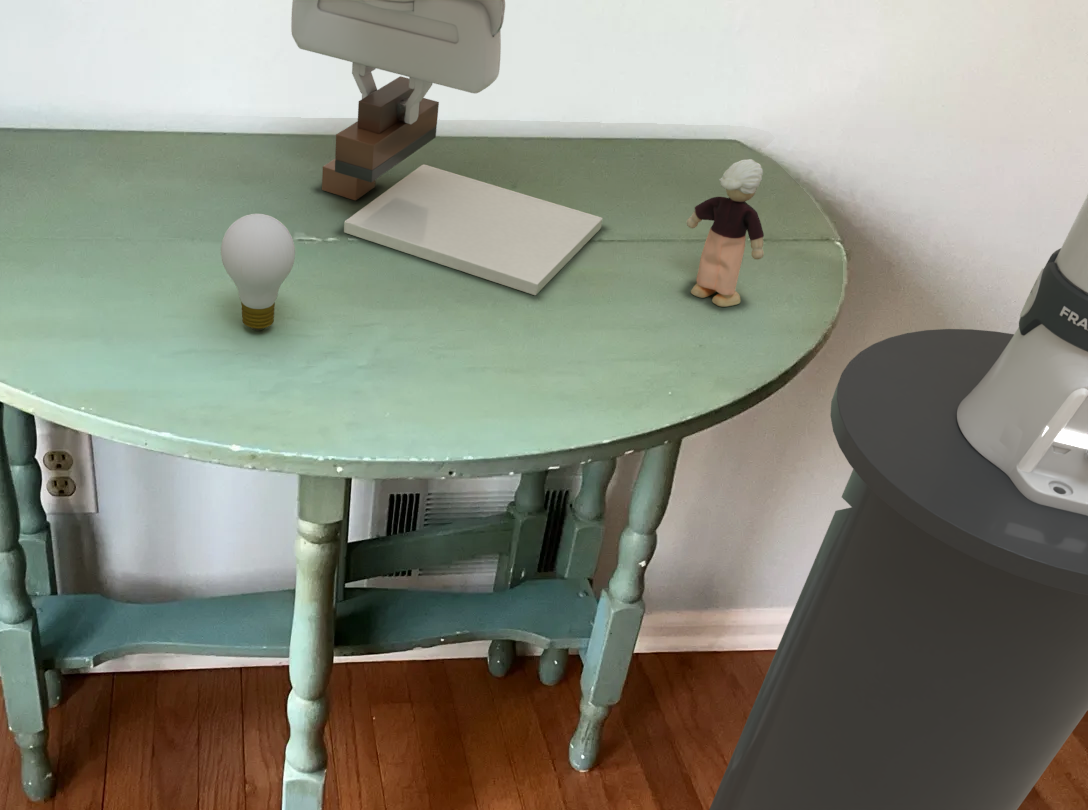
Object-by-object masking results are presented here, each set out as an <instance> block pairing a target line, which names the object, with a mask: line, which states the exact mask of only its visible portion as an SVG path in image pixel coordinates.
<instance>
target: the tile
mask: <svg viewBox="0 0 1088 810" xmlns="http://www.w3.org/2000/svg"><path fill="white" fill-rule="evenodd" d="M603 219H604V218H603V217H601V216H598V215H594V214H591V213H588V212H584V211H582V210H578V209H574V208H571V207H568V206H564V205H562V204H559V203H555V202H551V201H549V200H545V199H541V198H538V197H534V196H531V195H528V194H525V193H521V192H518V191H514V190H511V189H508V188H504V187H501V186H498V185H494V184H492V183H489V182H484V181H481V180H478V179H475V178H471V177H468V176H464V175H461V174H458V173H454V172H451V171H449V170H448V171H447V170H444V169H442V168H438V167H434V166H431V165H428V164H426V163H423V164H421V165H420V166H418V167H417V168H416V169H414V170H412V172H410V173H409V174H407V175H406V176H405V177H403V178H402V179H400V180H399V181H398V182H396V183H395V184H393V185H392V186H391V187H389V188H388V189H387V190H385V191H383V193H381V194H379V196H377V197H376V198H374V199H373V200H372V201H370V202H369V203H367V204H366V205H364V206H363V207H362V208H360V209H359V210H357V212H355V213H353V214H352V215H350V216H349V217H348V218H347V219H345V220H344V223H343V233H344V234H348V235H351V236H353V237H357V238H360V239H362V240H365V241H369V242H372V243H374V244H378V245H381V246H384V247H386V248H390V249H393V250H396V251H399V252H402V253H405V254H408V255H411V256H414V257H417V258H420V259H422V260H423V259H424V260H427V261H429V262H432V263H435V264H438V265H442V266H444V267H448V268H450V269H454V270H457V271H460V272H463V273H466V274H469V275H472V276H475V277H478V278H481V279H483V280H487V281H490V282H493V283H496V284H499V285H502V286H505V287H508V288H511V289H514V290H518V291H520V292H523V293H527V294H529V295H531V296H537V295H538V294H539V293H540V291H542V290H543V289H544V287H546V285H547V284H548V283H549V282H551V280H552V279H553V278H554V277H555V276H556V275H558V273H559V272H560V271H561V270H562V269H564V267H565V266H566V265H567V264H568V263H569V262H570V261H571V260H572V259H573V258H574V257H575V256H576V255H577V254H578V253H579V252H580V251H581V250H582V249H583V247H585V245H586V244H587V243H588V242H589V241H590V240H591V239H592V238H593V237H594V236H595V235H596V234H597V233H599V231H600V230H601V229H602V225H603V221H604V220H603Z"/></svg>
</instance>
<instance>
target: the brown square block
mask: <svg viewBox="0 0 1088 810" xmlns="http://www.w3.org/2000/svg"><path fill="white" fill-rule="evenodd" d="M335 160H336V159H335V158H333V159H331V160H330V161H329V162H327V163H326V164H324V165H323V166H322V172H321V173H322V175H321V176H322V177H321V191H324V192H327V193H331V194H334V195H335V196H340V197H343V198H345V199H349V200H351V201H352V200H353V201H357V200H359V199H360V198H362V197H363V196H364V195H366V194H367V193H369V192H370V191H372V190H373V189H375V188H376V181H377V179H376V180H374V181H373V182H368V181H364V180H361V179H358V178H354V177H351V176H348V175H344V174H341V173H337V172H335Z"/></svg>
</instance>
